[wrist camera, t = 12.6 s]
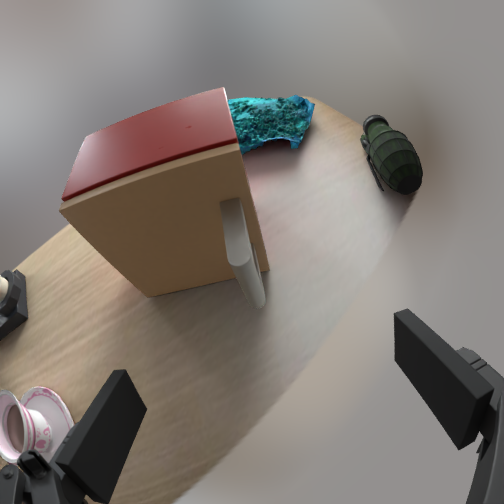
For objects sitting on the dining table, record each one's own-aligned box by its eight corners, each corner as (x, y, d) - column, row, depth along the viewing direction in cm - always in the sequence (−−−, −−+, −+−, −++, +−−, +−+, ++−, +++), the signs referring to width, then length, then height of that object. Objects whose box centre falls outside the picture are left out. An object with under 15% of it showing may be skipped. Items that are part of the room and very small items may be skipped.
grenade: (415, 157, 24) (374, 99, 31) (372, 193, 29) (342, 130, 35) (439, 181, 27) (399, 121, 33) (399, 211, 31) (369, 149, 38)
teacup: (25, 374, 26) (-10, 361, 21) (86, 406, 23) (45, 397, 18) (15, 453, 20) (-20, 448, 15) (76, 497, 17) (37, 502, 12)
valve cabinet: (267, 261, 29) (236, 137, 16) (148, 289, 30) (60, 198, 17) (253, 202, 33) (223, 86, 21) (149, 230, 34) (85, 136, 21)
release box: (-10, 307, 33) (-26, 297, 30) (30, 271, 35) (13, 258, 31) (-8, 348, 29) (-27, 338, 25) (33, 314, 31) (13, 302, 27)
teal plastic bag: (320, 105, 42) (319, 94, 40) (290, 167, 35) (289, 153, 33) (221, 99, 49) (218, 89, 47) (174, 152, 42) (169, 142, 40)
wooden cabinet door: (281, 319, 26) (256, 217, 13) (149, 345, 26) (41, 277, 14) (268, 263, 29) (237, 142, 16) (147, 291, 29) (61, 202, 17)
